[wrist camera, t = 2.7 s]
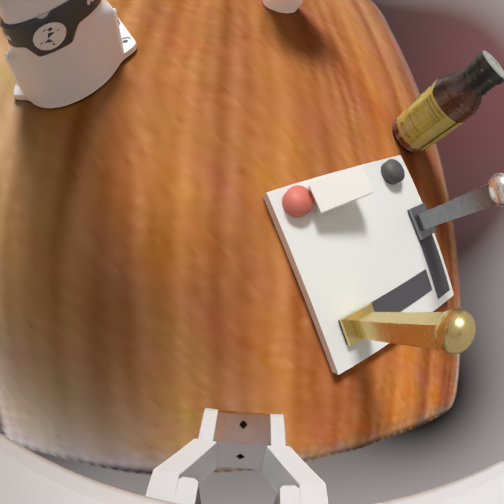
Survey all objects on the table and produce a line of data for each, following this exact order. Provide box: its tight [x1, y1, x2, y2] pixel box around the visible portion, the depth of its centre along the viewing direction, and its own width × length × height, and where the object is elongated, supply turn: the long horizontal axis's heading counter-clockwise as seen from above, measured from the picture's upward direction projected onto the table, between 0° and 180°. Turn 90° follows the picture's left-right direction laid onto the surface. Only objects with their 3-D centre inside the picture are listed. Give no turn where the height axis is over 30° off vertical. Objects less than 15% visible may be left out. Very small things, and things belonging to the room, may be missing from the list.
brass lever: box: [339, 303, 476, 354], centre depth 22 cm, size 3×4×15 cm
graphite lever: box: [408, 173, 504, 240], centre depth 26 cm, size 4×3×15 cm
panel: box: [263, 155, 454, 375], centre depth 31 cm, size 20×20×3 cm
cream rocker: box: [308, 165, 374, 215], centre depth 29 cm, size 3×6×2 cm, turn 112°
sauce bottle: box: [393, 51, 504, 153], centre depth 28 cm, size 6×6×20 cm
